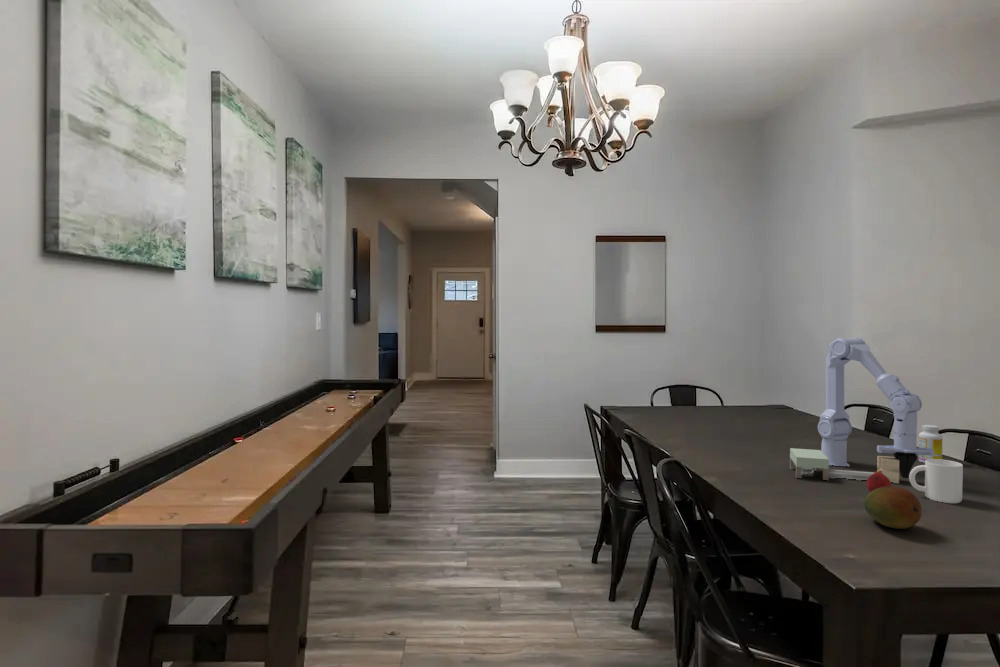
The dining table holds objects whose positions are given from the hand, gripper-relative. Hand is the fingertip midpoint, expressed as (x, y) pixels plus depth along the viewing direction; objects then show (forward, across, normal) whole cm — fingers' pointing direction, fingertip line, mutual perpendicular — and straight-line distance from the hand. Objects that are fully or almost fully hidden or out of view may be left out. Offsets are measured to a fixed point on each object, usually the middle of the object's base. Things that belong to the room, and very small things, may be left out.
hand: (904, 477), depth 177 cm
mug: (+2, +2, -16) cm, 16 cm away
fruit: (+2, -17, -45) cm, 48 cm away
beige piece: (+1, -12, 0) cm, 12 cm away
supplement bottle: (+2, +17, +30) cm, 34 cm away
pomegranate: (+2, -12, -21) cm, 24 cm away
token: (+2, -28, 0) cm, 28 cm away
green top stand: (+1, -26, 0) cm, 27 cm away
